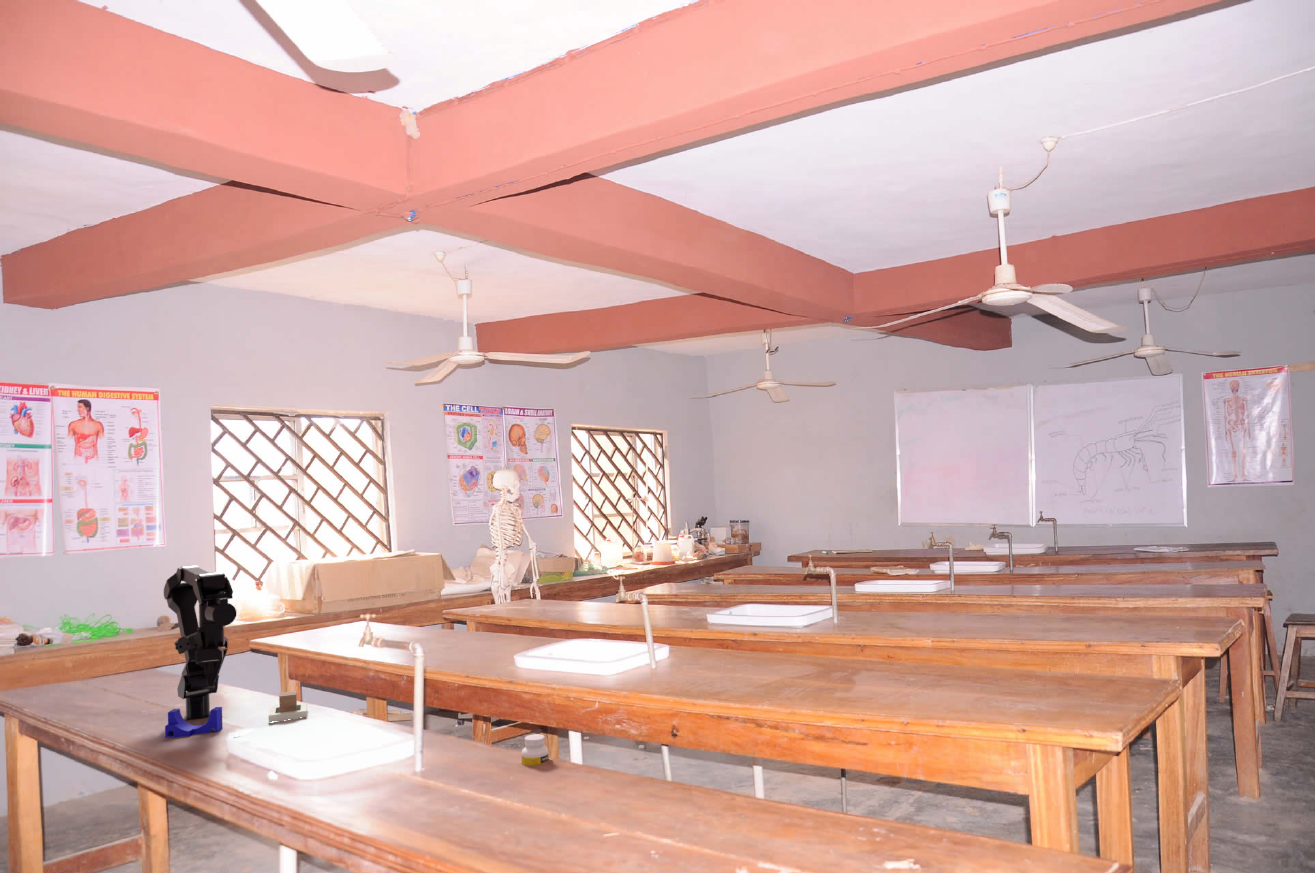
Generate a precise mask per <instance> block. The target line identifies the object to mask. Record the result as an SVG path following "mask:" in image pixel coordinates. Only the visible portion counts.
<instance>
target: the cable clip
mask: <svg viewBox="0 0 1315 873" xmlns="http://www.w3.org/2000/svg"><path fill="white" fill-rule="evenodd" d="M210 711H211V712H210V717H209V718H207V720H206V723H204V724H202V725H201V724H200V725H194V724H192V723H191V724H190V723H189V722H187V720H184V717H183V715H182V714H181V708H173V709H171V710H169V711H168V712H167V724H166V725H165V726H164V734H165V735H164V738H182V737H183V738H184V737H187V738H188V737H191V736H193V735H201V734H211V733H212V732H214V733H218V732H220V731H221V730H223V706H216V707H214V708H212V709H210Z"/></svg>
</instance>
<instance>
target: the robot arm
mask: <svg viewBox="0 0 1315 873" xmlns="http://www.w3.org/2000/svg"><path fill="white" fill-rule="evenodd" d="M230 582H231V581H230V579H229V578H228V577H227V575H226V574H225V573H224V571H219V572H218V571H217V572H209V571H206V570H204V569H203V568H200V566H199V565H196V564H195V565H186V566H185V565H184V566H180V567H177V569H176V572H174V573H173V575H172V576H170V577H169V578H168V579H167V580H166V581H165V584H164V587H163V598H164V600H166V603H167V606H168V608H169V609H170V610H171V611H172V612H173V613H174V614H176V618H177V623H178V627H179V633H180V637H178V639H177V640H176V641H175V642H174V643H173V644H174V646H175V650H176V651H177V653H178V655H183V654H184V658H185V659H184V660H185V664H184V667H183V668H182V669H183V670H182V671H181V676H180V679H179V683H178V686H177V696H178V697H179V698H180V699H182V700H185V715H184V717H183V719H184V720H185V721H191V720H199V719H200V720H201V719H209V717H210V712H211V709H210V708H211V707H210V706H211V705H210V704H211V703H210V702H211V700H210V694H216V693H218V689H219V688H218V687H219V678H220V675H219V674H220V672H221V669H222V666H223V663H224V660H225V659H226V654H227V652H228V650H229V649H228V648H229V639H228V638H227V637H226V636H225V628H226V626H229V625H231V624H232V623H233V622H234V621H235V620H236V618H237V609H236V607H235V606H234V605H233V604H231V603H229V600H230V599H233V593H234V590H233V589H232V588H233V587H232V585H231V583H230ZM197 602H198V618H197V612H196V605H197ZM198 620H199V621H198ZM224 647H225V648H224Z"/></svg>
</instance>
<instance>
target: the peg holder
mask: <svg viewBox="0 0 1315 873" xmlns="http://www.w3.org/2000/svg"><path fill="white" fill-rule="evenodd" d="M300 717H307V718H308V702H300V703H298V702H297V711H290V712H282V713H280V705H275V706H270V707H269V711H268V723H269V722H272V721H284V720H288V719H296V720H298V719H297V718H300ZM284 722H285V721H284Z"/></svg>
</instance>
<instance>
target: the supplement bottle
mask: <svg viewBox="0 0 1315 873" xmlns="http://www.w3.org/2000/svg"><path fill="white" fill-rule="evenodd" d="M545 744H546V738H545V735H544V734H538V733H537V734H536V733H534V734H529V735H526V736H525V737H524V745H525V747H523V748H522V750H521V764H522V765H523V766H527V767H528V766H529V767H533V766H539V765H543V764H546V763H547V762H549V749H548V747H547V746H546V745H545Z"/></svg>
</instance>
